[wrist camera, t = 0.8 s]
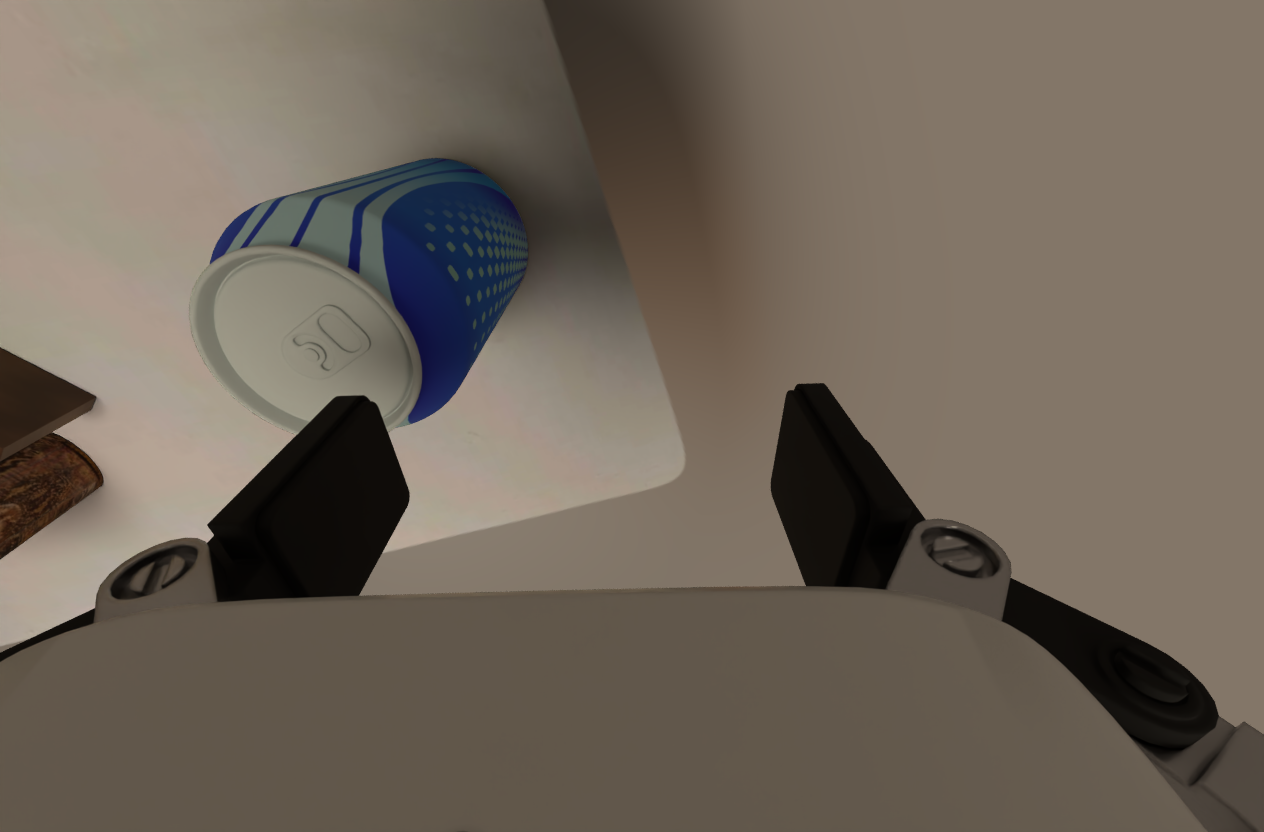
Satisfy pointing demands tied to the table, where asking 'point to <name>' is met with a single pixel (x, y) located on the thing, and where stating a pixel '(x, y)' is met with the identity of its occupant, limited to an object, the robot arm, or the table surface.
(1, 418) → the corner fence
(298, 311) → the beer can
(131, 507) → the table surface
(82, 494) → the book
